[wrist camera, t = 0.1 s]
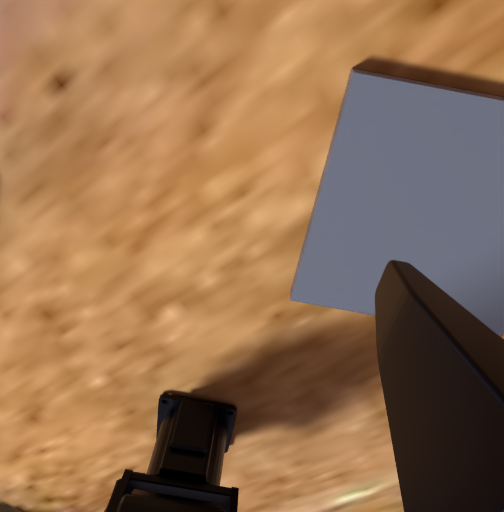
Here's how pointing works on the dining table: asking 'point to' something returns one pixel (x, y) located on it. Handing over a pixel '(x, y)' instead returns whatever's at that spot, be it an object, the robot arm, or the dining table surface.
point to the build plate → (409, 197)
